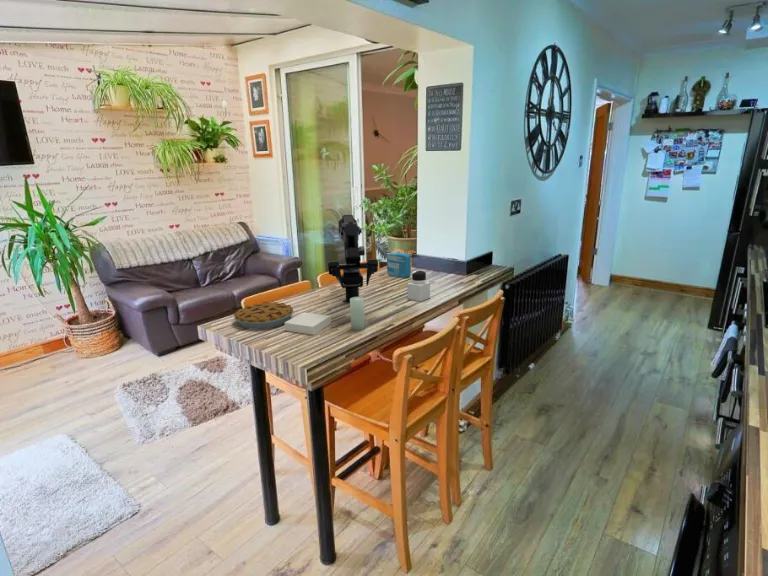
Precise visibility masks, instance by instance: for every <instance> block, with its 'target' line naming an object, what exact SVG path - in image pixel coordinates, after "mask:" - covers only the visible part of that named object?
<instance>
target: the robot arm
mask: <svg viewBox="0 0 768 576" xmlns="http://www.w3.org/2000/svg"><path fill="white" fill-rule="evenodd" d="M337 224H338V234H340V239H341V240H342V242H343V252H344V253H343V254H344V263H342V264H341V263H340V261H339V260H331V261H328V262H327V265H328V267H327V269H328V275H330V276H332V277H335V278H336V280H337V281H338V283H339V285H340V286H341V289H345V298H343V300H342V302H343V303H350V298H352V297H360V288H363V287H364V276H363V275H362V273H361V272H360V270H361V269H366V281H365V282H366V287H368V286H369V282H370V279H371V276H372V275H375V273H378V270H379V260H378V259H377V258H368V259H366V262H362V263H361V259H362V258H361V256H363V257H364V256H365V255H366V254H365V253H366V252H365V246H364V245H363V246H362V245H361V246H359V237H360V235H361V234H362V228H361V227H360V226H359V225H358V221H357V220H356V219H355V217H354V215H353V214H343V215H341V219H340V220H338V223H337ZM341 270H342V273H341Z"/></svg>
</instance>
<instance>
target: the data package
mask: <svg viewBox="0 0 768 576" xmlns="http://www.w3.org/2000/svg"><path fill="white" fill-rule="evenodd" d="M411 262H412V261H411V254H409V253H404V252H397V251H396V252H395V251H392V252H389V253H387V255H386V272H387V275H388V276H390V277H393V278H399V279H400V278H401V279H407V278H409V277H410V276H412V271H411V270H412V269H411V268H412V266H411V265H412V264H411Z"/></svg>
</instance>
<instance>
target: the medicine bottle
mask: <svg viewBox="0 0 768 576" xmlns="http://www.w3.org/2000/svg"><path fill="white" fill-rule="evenodd" d="M430 298H431V282H430V281H427V273H426V271H423V270H414V271H411V282H408V283H407V300H412V301H417V302H420V303H421V302H423V301H426V300H428V299H430Z"/></svg>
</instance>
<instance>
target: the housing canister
mask: <svg viewBox="0 0 768 576" xmlns="http://www.w3.org/2000/svg"><path fill="white" fill-rule="evenodd" d="M349 309H350V327H351V330H352V331H363V330H365V329H366V321H365V320H366V318H365V298H364V297H362V296H359V297H352V298H350V302H349Z"/></svg>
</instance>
